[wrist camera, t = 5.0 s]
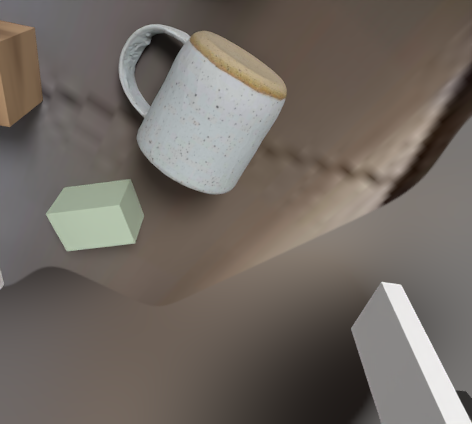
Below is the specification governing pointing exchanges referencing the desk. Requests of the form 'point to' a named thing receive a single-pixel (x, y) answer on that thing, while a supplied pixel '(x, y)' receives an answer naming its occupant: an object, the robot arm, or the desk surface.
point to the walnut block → (18, 72)
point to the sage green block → (97, 215)
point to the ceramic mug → (203, 108)
